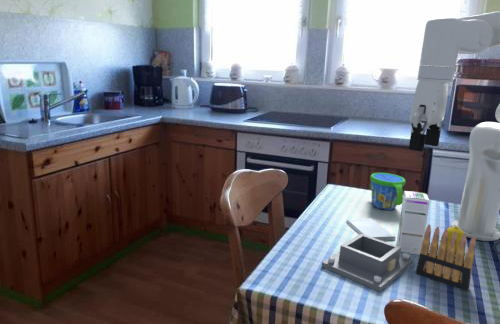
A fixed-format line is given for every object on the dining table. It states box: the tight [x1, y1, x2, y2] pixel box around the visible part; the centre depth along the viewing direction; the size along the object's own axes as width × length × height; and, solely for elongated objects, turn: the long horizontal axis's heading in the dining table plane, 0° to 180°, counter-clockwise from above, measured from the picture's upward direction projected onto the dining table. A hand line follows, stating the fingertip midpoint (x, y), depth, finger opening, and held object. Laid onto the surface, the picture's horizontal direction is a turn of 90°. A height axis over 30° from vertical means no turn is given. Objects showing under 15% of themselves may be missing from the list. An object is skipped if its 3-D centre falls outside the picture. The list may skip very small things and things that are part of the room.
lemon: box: [440, 226, 464, 256], centre depth 101 cm, size 6×6×8 cm
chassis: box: [321, 234, 415, 293], centre depth 95 cm, size 18×14×5 cm
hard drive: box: [346, 218, 397, 242], centre depth 115 cm, size 2×8×12 cm
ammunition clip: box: [415, 223, 477, 292], centre depth 89 cm, size 11×2×12 cm, turn 53°
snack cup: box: [369, 172, 406, 211], centre depth 133 cm, size 16×10×10 cm
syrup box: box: [396, 190, 431, 256], centre depth 103 cm, size 6×6×14 cm
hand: (423, 147), depth 99 cm, fingers open, 9 cm apart
